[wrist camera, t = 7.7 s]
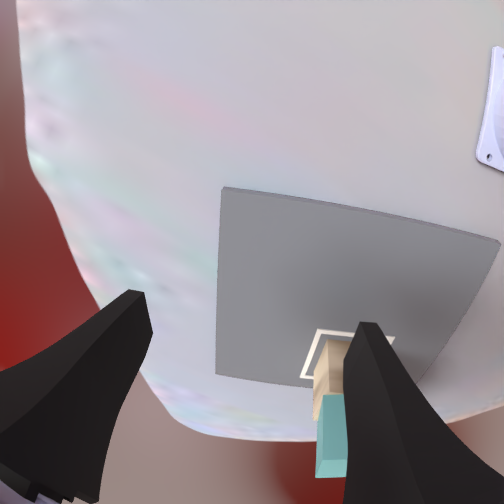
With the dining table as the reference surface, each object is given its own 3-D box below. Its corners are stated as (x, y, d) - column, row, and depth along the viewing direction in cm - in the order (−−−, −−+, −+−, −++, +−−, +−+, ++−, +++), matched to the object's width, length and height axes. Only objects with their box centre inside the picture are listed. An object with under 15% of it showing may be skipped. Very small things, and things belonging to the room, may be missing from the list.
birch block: (379, 344, 22) (388, 394, 18) (360, 375, 24) (365, 422, 20) (327, 339, 22) (329, 392, 18) (313, 371, 25) (312, 420, 21)
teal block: (385, 391, 18) (393, 454, 13) (371, 419, 20) (375, 474, 16) (322, 394, 18) (322, 460, 14) (317, 422, 21) (315, 477, 17)
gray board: (497, 240, 16) (501, 245, 16) (407, 387, 26) (408, 393, 25) (223, 186, 18) (221, 190, 17) (216, 369, 27) (215, 374, 27)
